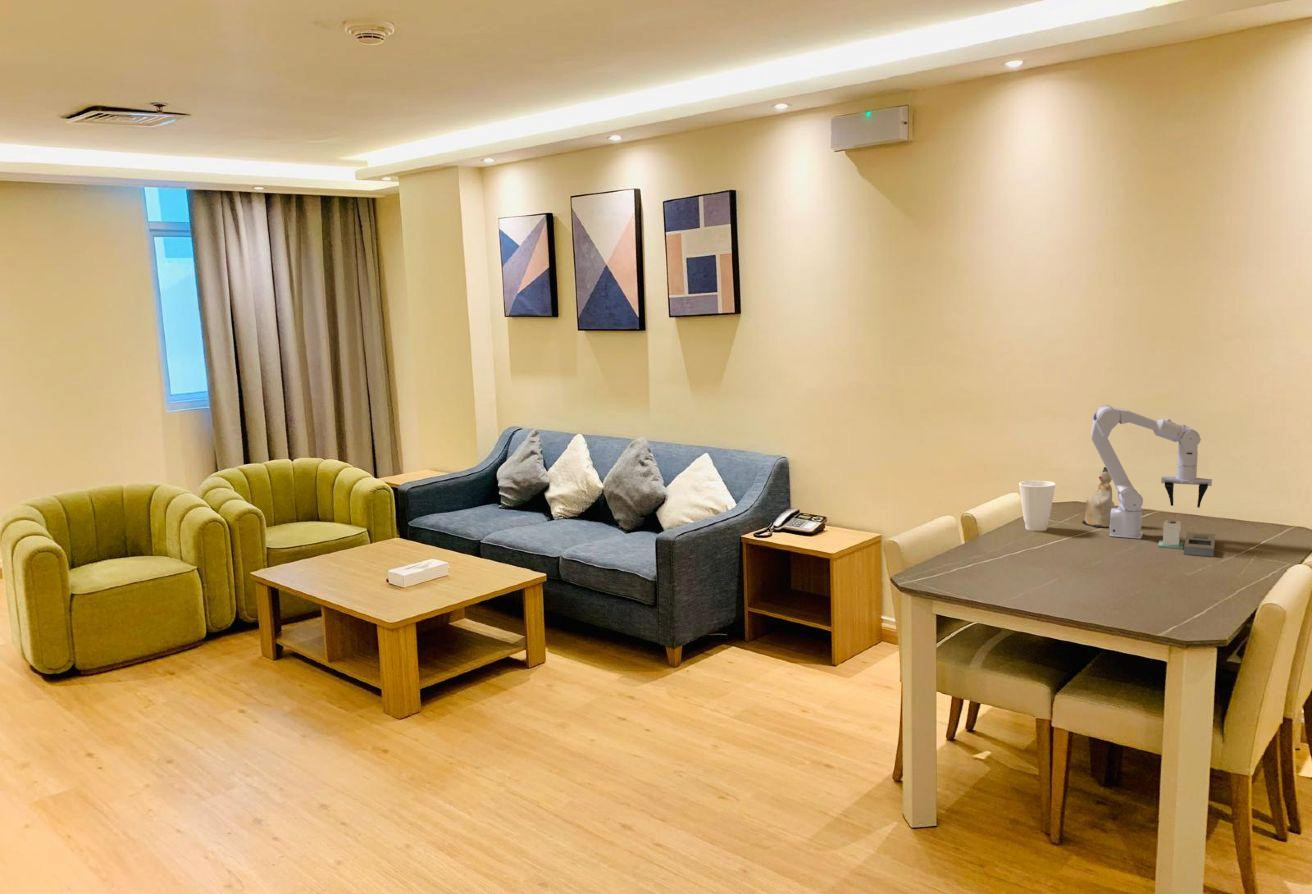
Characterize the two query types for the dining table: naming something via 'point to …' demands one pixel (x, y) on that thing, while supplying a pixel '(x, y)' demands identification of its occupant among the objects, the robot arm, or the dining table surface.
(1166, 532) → the cube with screw head
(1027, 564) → the dining table surface
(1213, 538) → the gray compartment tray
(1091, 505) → the figurine
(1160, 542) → the mat
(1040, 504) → the cup
